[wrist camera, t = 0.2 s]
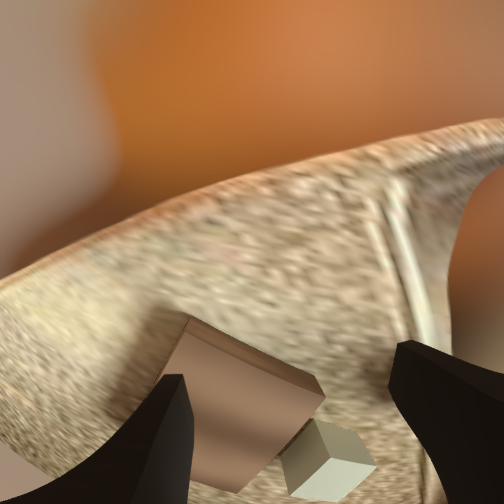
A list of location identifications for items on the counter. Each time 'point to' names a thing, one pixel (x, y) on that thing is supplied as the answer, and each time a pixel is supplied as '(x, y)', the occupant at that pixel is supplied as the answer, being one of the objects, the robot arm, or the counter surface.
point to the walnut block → (238, 404)
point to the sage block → (325, 462)
